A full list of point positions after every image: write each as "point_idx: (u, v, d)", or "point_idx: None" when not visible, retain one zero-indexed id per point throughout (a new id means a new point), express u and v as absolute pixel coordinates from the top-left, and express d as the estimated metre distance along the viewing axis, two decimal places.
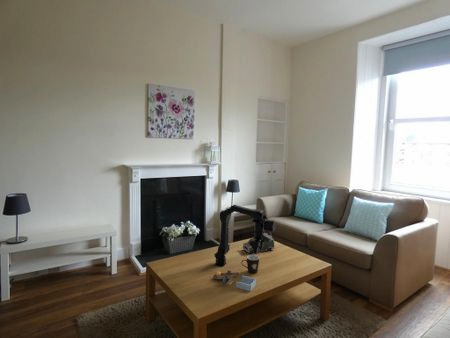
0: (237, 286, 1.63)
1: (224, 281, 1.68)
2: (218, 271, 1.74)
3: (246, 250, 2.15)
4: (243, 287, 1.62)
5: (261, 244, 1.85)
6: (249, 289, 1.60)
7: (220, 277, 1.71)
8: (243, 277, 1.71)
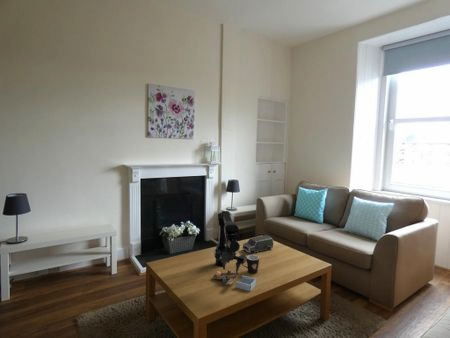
0: (237, 286, 1.63)
1: (224, 281, 1.68)
2: (218, 271, 1.74)
3: (247, 250, 2.14)
4: (243, 287, 1.62)
5: None
6: (249, 289, 1.60)
7: (220, 277, 1.71)
8: (243, 277, 1.71)
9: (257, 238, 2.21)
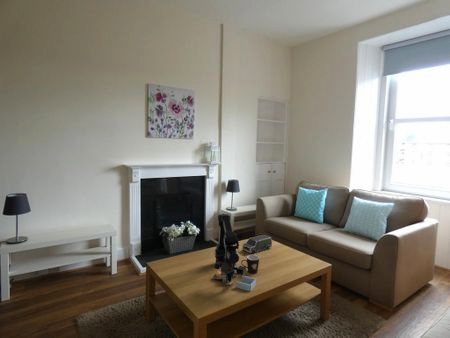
0: (237, 286, 1.63)
1: (224, 281, 1.68)
2: (218, 271, 1.74)
3: (247, 251, 2.14)
4: (243, 287, 1.62)
5: None
6: (249, 289, 1.60)
7: (220, 277, 1.71)
8: (243, 277, 1.71)
9: (256, 238, 2.22)
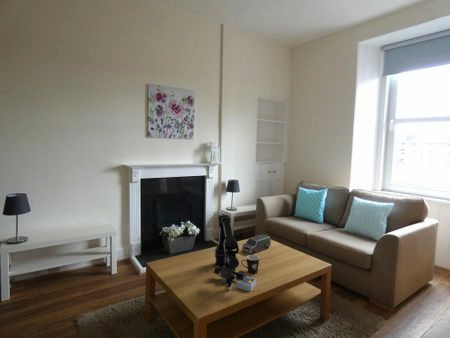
0: (237, 286, 1.63)
1: (224, 281, 1.68)
2: None
3: (248, 251, 2.14)
4: (243, 287, 1.62)
5: None
6: (249, 289, 1.60)
7: (220, 275, 1.70)
8: None
9: (256, 238, 2.22)
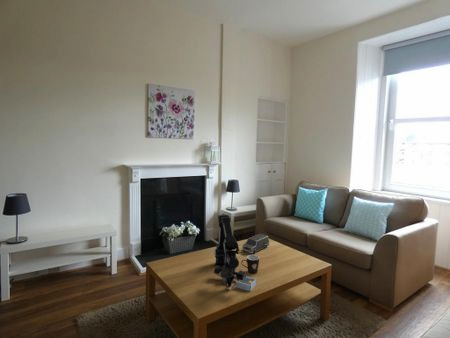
0: (237, 286, 1.63)
1: (224, 281, 1.68)
2: None
3: (249, 251, 2.13)
4: (243, 287, 1.62)
5: None
6: (249, 289, 1.60)
7: (220, 275, 1.70)
8: None
9: (255, 237, 2.23)
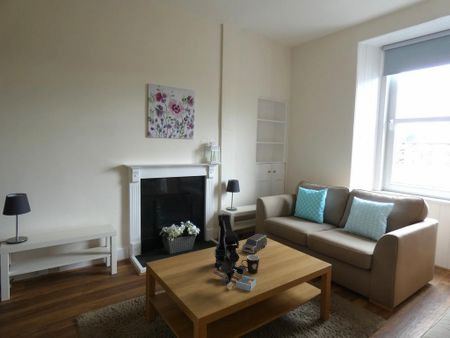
0: (237, 286, 1.63)
1: (224, 281, 1.68)
2: None
3: (249, 251, 2.13)
4: (243, 287, 1.62)
5: None
6: (249, 289, 1.60)
7: (220, 275, 1.70)
8: (243, 277, 1.71)
9: (254, 237, 2.23)
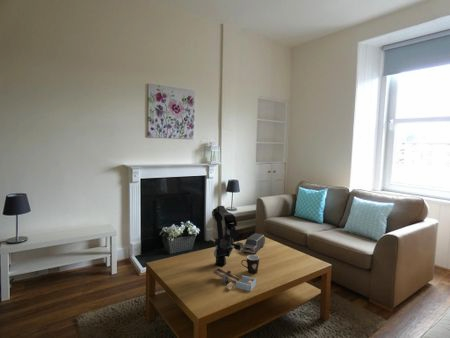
0: (237, 286, 1.63)
1: (224, 281, 1.68)
2: None
3: (250, 251, 2.13)
4: (243, 287, 1.62)
5: None
6: (249, 289, 1.60)
7: (220, 275, 1.70)
8: (243, 277, 1.71)
9: (253, 237, 2.23)
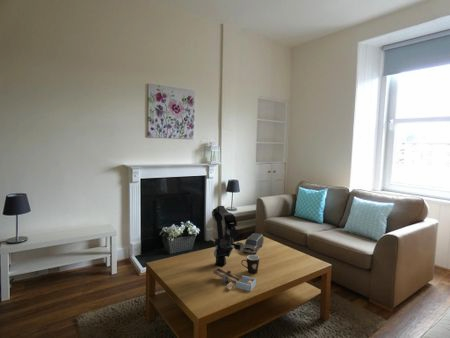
0: (237, 286, 1.63)
1: (224, 281, 1.68)
2: None
3: (251, 251, 2.13)
4: (243, 287, 1.62)
5: None
6: (249, 289, 1.60)
7: (220, 275, 1.70)
8: (243, 277, 1.71)
9: (253, 237, 2.23)
